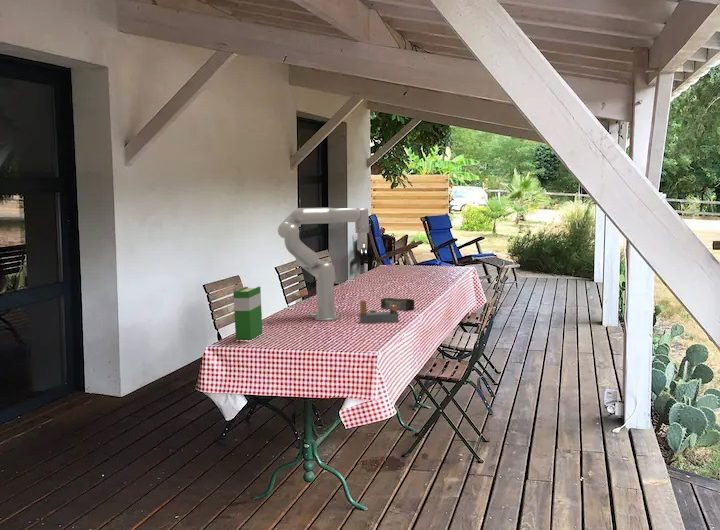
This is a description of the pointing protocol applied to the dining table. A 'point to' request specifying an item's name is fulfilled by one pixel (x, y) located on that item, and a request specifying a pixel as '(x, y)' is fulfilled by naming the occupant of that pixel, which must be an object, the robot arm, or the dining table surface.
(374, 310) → the white box
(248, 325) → the green cereal box
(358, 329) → the dining table surface
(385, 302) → the beverage carton
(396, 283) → the dining table surface
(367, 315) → the plane body
